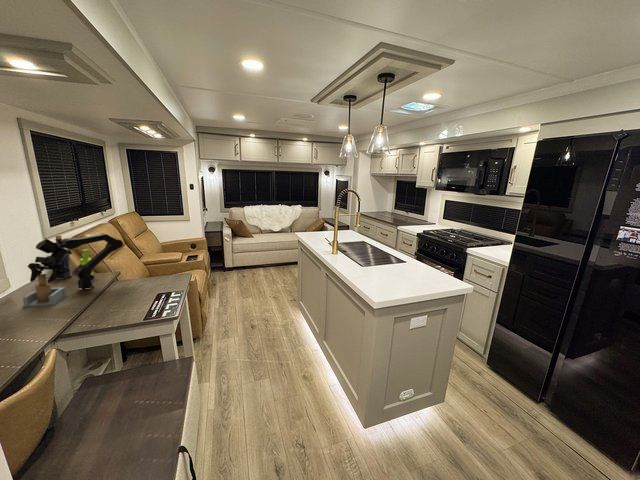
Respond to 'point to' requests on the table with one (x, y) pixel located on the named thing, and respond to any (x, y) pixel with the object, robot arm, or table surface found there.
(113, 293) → the table surface
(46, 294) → the amber bottle
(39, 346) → the table surface
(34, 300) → the u rest
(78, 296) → the table surface
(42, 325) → the table surface
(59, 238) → the bottle
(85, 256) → the soap dispenser
